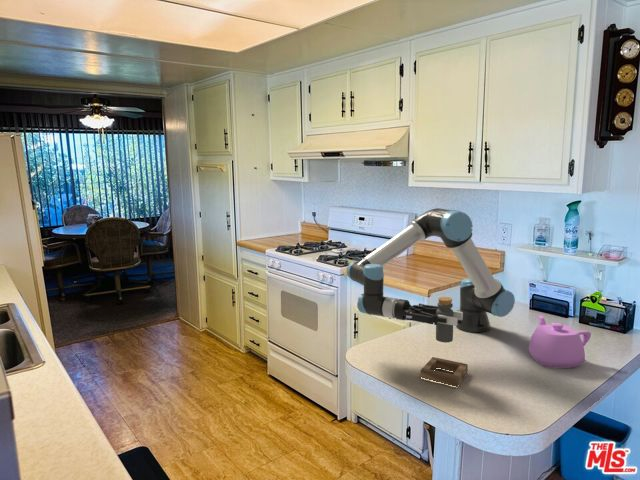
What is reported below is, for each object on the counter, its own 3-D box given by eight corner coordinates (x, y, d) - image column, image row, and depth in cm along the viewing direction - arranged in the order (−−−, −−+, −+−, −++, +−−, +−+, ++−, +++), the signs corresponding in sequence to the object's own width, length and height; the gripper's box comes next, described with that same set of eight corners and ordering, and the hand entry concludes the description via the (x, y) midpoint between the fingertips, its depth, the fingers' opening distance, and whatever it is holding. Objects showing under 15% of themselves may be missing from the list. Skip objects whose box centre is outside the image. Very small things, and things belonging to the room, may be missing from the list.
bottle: (436, 335, 161) (436, 295, 158) (453, 337, 159) (454, 296, 157) (435, 341, 155) (436, 300, 153) (452, 343, 153) (453, 301, 151)
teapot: (601, 370, 160) (604, 331, 158) (543, 372, 161) (545, 332, 158) (567, 345, 183) (569, 310, 180) (516, 347, 183) (517, 312, 181)
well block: (432, 365, 168) (432, 356, 168) (467, 373, 161) (467, 364, 161) (420, 379, 158) (420, 370, 157) (457, 388, 150) (457, 378, 150)
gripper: (406, 311, 174) (466, 321, 161) (386, 326, 158) (451, 338, 146) (406, 292, 173) (467, 301, 160) (386, 305, 157) (451, 316, 145)
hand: (459, 318), depth 153 cm, fingers closed on bottle, 6 cm apart
